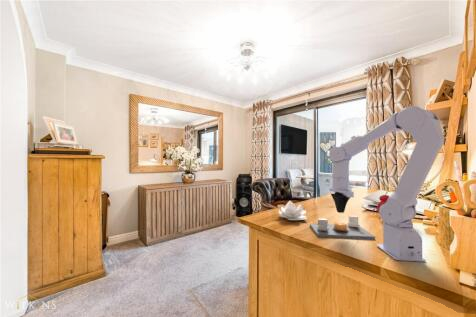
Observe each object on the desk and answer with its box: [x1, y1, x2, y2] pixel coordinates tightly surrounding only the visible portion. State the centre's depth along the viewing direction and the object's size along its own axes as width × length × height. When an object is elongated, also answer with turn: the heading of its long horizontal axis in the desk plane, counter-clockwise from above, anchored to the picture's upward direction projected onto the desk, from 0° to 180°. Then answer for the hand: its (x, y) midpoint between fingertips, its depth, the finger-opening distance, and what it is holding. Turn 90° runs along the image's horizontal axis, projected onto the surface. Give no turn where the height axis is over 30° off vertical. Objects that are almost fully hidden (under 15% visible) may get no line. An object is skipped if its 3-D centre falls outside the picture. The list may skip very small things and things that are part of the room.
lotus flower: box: [277, 200, 308, 221], centre depth 95 cm, size 14×15×9 cm
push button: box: [333, 221, 348, 231], centre depth 76 cm, size 4×4×2 cm
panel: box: [309, 223, 376, 240], centre depth 77 cm, size 12×20×1 cm, turn 83°
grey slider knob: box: [317, 218, 329, 231], centre depth 76 cm, size 2×4×4 cm, turn 83°
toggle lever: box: [347, 215, 361, 227], centre depth 81 cm, size 2×4×4 cm, turn 83°
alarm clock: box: [376, 190, 391, 220], centre depth 91 cm, size 10×6×15 cm, turn 79°
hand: (340, 212), depth 77 cm, fingers closed
